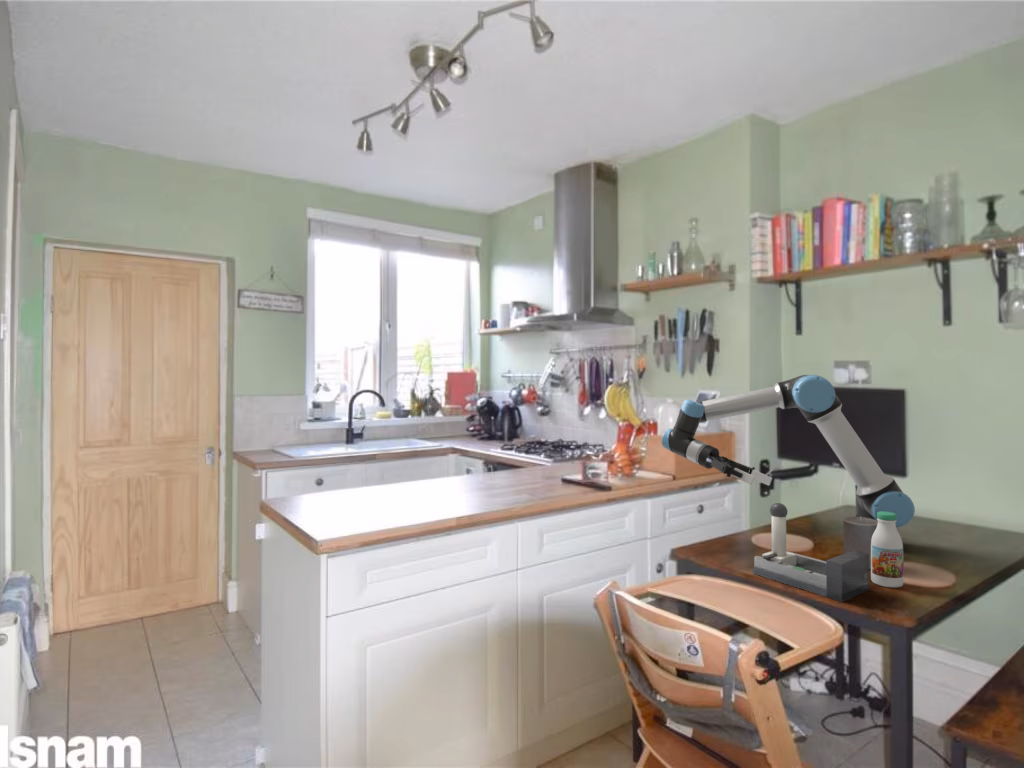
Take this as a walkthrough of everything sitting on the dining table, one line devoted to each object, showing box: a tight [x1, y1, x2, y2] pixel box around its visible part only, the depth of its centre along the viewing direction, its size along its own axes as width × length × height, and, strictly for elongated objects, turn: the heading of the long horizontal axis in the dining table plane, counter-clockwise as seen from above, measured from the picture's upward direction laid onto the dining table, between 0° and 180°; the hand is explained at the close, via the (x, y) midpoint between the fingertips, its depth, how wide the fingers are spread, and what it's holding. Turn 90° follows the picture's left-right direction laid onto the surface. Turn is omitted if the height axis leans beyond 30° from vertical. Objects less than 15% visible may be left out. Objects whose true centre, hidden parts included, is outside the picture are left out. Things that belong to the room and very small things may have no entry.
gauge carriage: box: [761, 502, 797, 566], centre depth 172 cm, size 6×11×19 cm, turn 123°
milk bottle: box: [870, 511, 904, 589], centre depth 163 cm, size 8×8×20 cm
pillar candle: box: [842, 516, 878, 570], centre depth 179 cm, size 10×10×15 cm
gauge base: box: [752, 550, 870, 603], centre depth 166 cm, size 26×14×10 cm, turn 33°
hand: (762, 481), depth 182 cm, fingers open, 13 cm apart
